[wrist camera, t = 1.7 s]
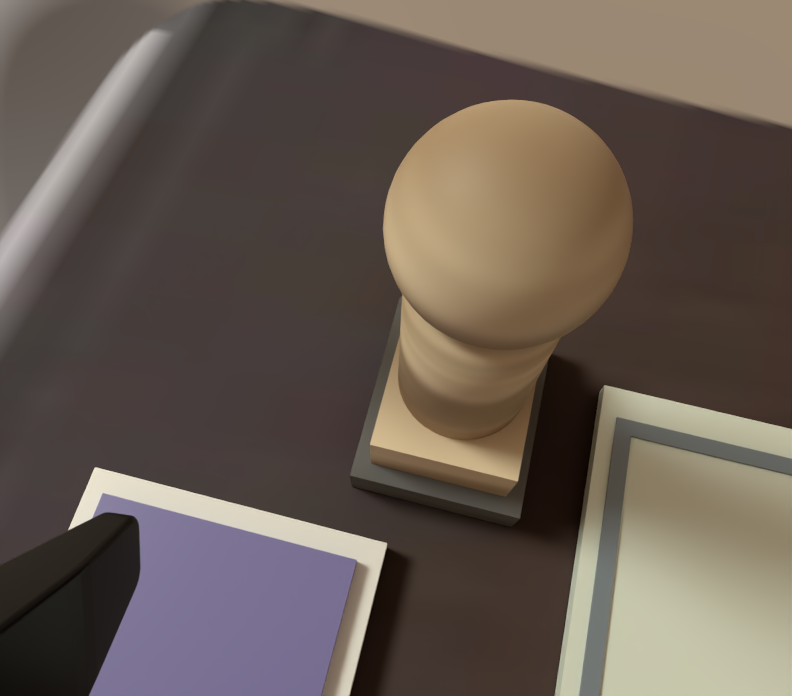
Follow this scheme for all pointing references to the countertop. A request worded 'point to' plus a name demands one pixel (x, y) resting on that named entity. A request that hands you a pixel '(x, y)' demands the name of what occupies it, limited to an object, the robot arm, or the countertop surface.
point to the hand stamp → (486, 299)
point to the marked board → (681, 555)
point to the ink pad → (233, 597)
